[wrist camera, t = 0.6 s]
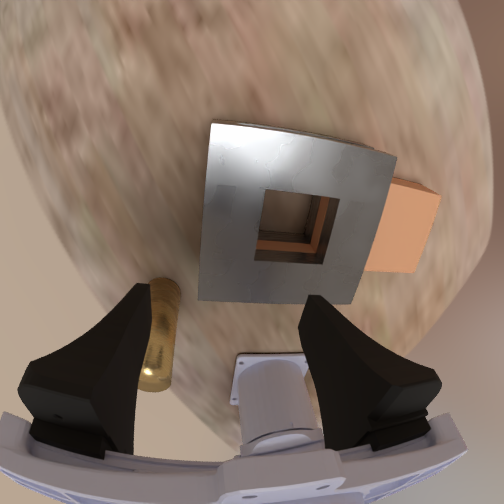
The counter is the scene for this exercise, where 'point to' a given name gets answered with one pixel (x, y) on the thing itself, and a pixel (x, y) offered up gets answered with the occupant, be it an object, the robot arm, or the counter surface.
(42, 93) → the counter surface
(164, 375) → the brass pin
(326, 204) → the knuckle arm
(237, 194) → the bracket
